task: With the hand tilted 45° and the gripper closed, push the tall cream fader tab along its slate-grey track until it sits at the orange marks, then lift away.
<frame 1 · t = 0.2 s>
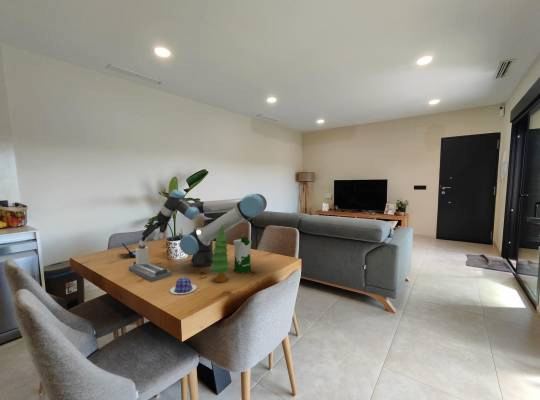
hand: (148, 242, 148), 16 cm above the table, tool tilted 35°, fingers open, 13 cm apart
fader track: (149, 272, 140), on the table
game console: (134, 255, 175), on the table
decorative tree: (219, 280, 130), on the table
fader tab: (142, 255, 145), point 9 cm above the table, slide at 0.0 cm
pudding: (183, 290, 118), on the table
milk carton: (242, 271, 144), on the table
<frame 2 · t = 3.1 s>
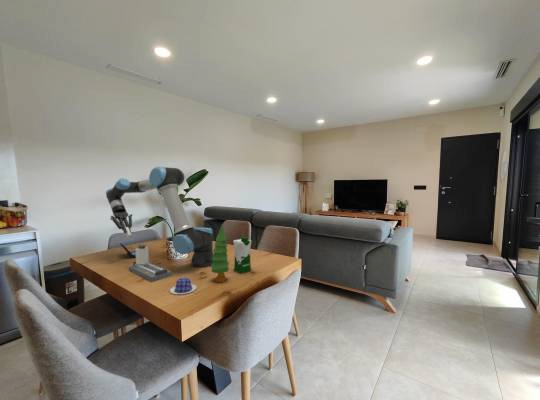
hand: (129, 236, 154), 18 cm above the table, tool tilted 45°, fingers closed
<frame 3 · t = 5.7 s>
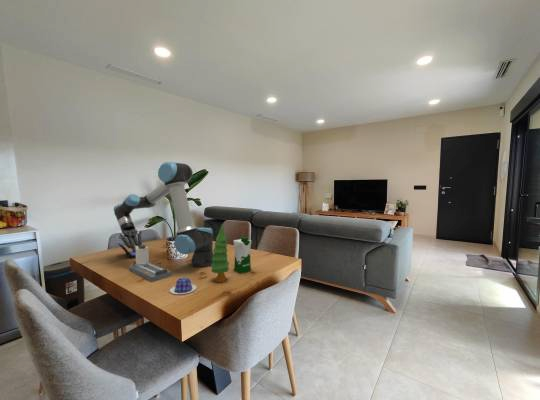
hand: (139, 255, 146), 8 cm above the table, tool tilted 45°, fingers closed
fader tab: (142, 255, 145), point 9 cm above the table, slide at 0.1 cm, touching gripper
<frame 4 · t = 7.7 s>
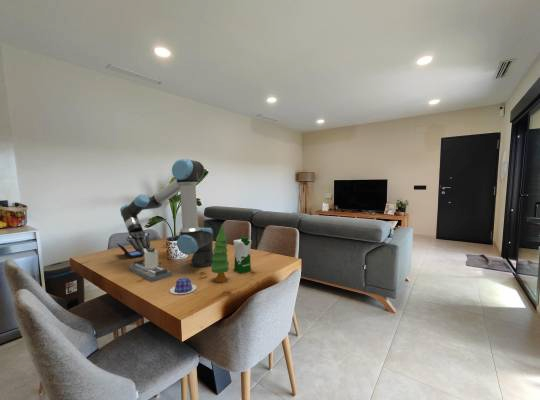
hand: (147, 259, 139), 8 cm above the table, tool tilted 45°, fingers closed
fader tab: (151, 258, 138), point 9 cm above the table, slide at 11.3 cm, touching gripper
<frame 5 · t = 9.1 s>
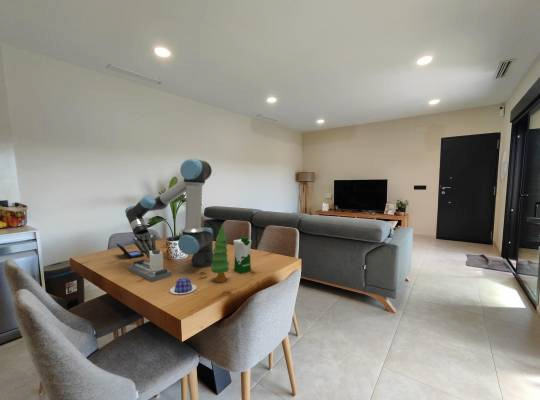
hand: (153, 261, 136), 8 cm above the table, tool tilted 45°, fingers closed
fader tab: (156, 260, 135), point 9 cm above the table, slide at 17.0 cm, touching gripper
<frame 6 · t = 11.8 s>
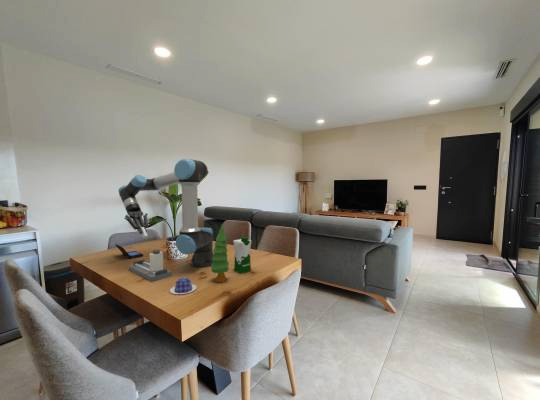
hand: (145, 237, 141), 20 cm above the table, tool tilted 45°, fingers closed
fader tab: (156, 260, 135), point 9 cm above the table, slide at 17.0 cm
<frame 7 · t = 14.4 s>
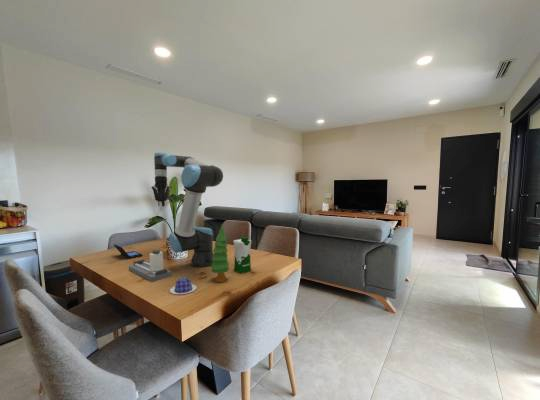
hand: (161, 211, 166), 32 cm above the table, tool pointing down, fingers closed
at the end: fader tab slide at 17.0 cm; fader track tilted 0° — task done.
